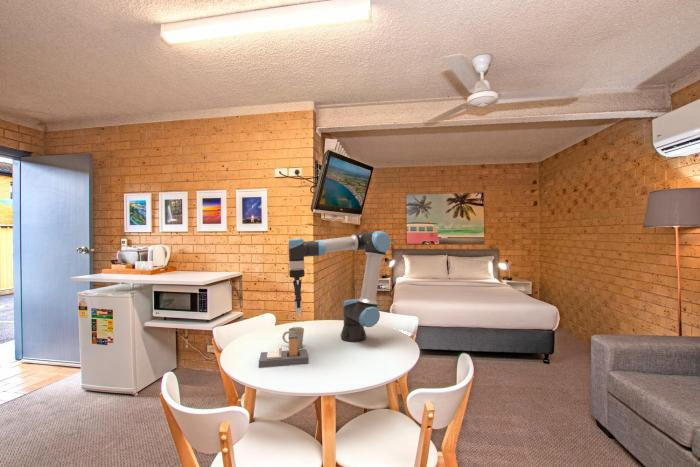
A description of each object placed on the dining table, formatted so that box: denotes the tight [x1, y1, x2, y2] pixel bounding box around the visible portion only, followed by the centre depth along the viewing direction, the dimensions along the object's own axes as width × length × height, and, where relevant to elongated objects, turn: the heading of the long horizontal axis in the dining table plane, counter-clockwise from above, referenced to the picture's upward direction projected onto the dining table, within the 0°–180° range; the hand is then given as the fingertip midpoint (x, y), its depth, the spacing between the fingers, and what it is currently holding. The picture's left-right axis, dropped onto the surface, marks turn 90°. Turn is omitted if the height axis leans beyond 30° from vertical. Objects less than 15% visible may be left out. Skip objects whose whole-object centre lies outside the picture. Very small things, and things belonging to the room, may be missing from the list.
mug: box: [282, 326, 305, 350], centre depth 180 cm, size 8×13×10 cm, turn 78°
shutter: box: [267, 343, 283, 359], centre depth 159 cm, size 7×9×4 cm
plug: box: [288, 334, 298, 357], centre depth 161 cm, size 4×4×12 cm
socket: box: [258, 348, 309, 369], centre depth 160 cm, size 23×12×3 cm, turn 101°
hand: (298, 311), depth 164 cm, fingers open, 13 cm apart
